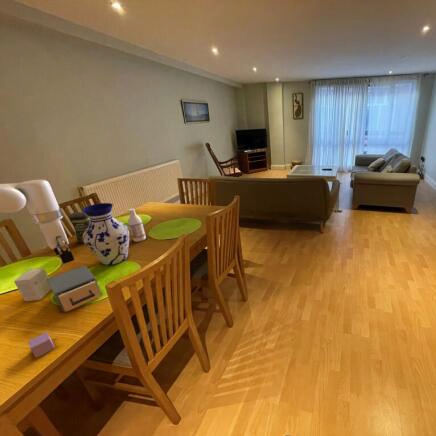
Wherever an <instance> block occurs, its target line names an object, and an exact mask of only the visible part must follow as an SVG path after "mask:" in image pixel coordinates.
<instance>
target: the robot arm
mask: <svg viewBox="0 0 436 436" xmlns="http://www.w3.org/2000/svg"><path fill="white" fill-rule="evenodd" d="M25 206H26V209H27V211H28V213H29V215H30V217H31V219H32V222H33V224H36V225H38V226H39V228H40V231H41V234H42V235H43V238H44V240H45V242H46V244H47V245H48V247H49V249H51V250H54V253H55V255H56V256H59V258H60V260H61V262H62V264H63V265H64V264H68V263H71V262H74V261H75V257H74V254H73V253H72V250H71V249H70V248H69V244H70V242H69V240H68V236H67V234H66V231H65V229H64V227H63V224H62V222H61V219H63V217H64V215H63V213H62V211H61V208H60V205H59V204H58V201H57V199H56V196H55V193H54V192H53V188H52V186H51V184H50V183H49V181H48V180H46V179H32V180H31V179H30V180H25V181H22V182H15V183H14V182H13V183H0V214H9V213H10V214H12V213H16V212H19V211H20V210H22V209H24V207H25Z"/></svg>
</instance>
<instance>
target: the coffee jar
mask: <svg viewBox="0 0 436 436" xmlns="http://www.w3.org/2000/svg"><path fill="white" fill-rule="evenodd" d="M68 218H69V219H68V220H69V222H70V223H71V224H72V226H73V229H74V232H75V237H76V240H77V243H79V244H85V243H84V241H83V234H84V232H85V231H86V229H87V228H88V226H89V224H90V218H89V216H88V215H87V214H86V213H84V212H83V211H79V212H72V213H70V214H69V215H68Z"/></svg>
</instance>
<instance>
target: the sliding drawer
mask: <svg viewBox="0 0 436 436" xmlns="http://www.w3.org/2000/svg"><path fill="white" fill-rule="evenodd" d="M97 284H98V283H97ZM97 284H96V282H95V281H93V282H92V281H89V282H87V283H84V284H82V285H79V286H77V287H74V288H72V289H69V290H67V291H64V292H62V293H59V296H58V297H59V299H60V301H61V304H62V306H63V308H64V310H65V311H64V313H68V312H70V311H72V310H74V309H76V308H79V307H80V306H83V305H85V304H87V303H89V302H92V301H94V300H96V299H98V298H100V297H102V295H101V294H102V293H101V294H100V292H101V291H100V292H99V289H100V288H99V289H98V287H97Z"/></svg>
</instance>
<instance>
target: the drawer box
mask: <svg viewBox="0 0 436 436" xmlns="http://www.w3.org/2000/svg"><path fill="white" fill-rule="evenodd" d="M47 281H48V283H49V285H50V287H51V289H52V290H51V292H52V294H53V296H54V298H55V299H56V301H57V304H58V305H59V308H60V309H61V311H62V312H63V313H65V310H64V308H63V306H62V304H61V301H60V299H59V297H58V296H59V293H62V292H64V291H67V290H69V289H72V288H74V287H77V286H79V285H82V284H84V283H87V282H89V281H92V282H93V281H95V282H96V284H97V287H98V289H99V292H100V294H101V296H102V295H103V294H102V292H101V289H100V286H99V284H98V281H97V279H96V277H95V275H94V274H93V273H92V272H91V271H90V269H88V267H87V266H86V265H81V266H79V267H75V268H72V269H69V270H67V271H65V272H61V273H59V274H56V275H53V276H51V277H49V278H48V279H47Z"/></svg>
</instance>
